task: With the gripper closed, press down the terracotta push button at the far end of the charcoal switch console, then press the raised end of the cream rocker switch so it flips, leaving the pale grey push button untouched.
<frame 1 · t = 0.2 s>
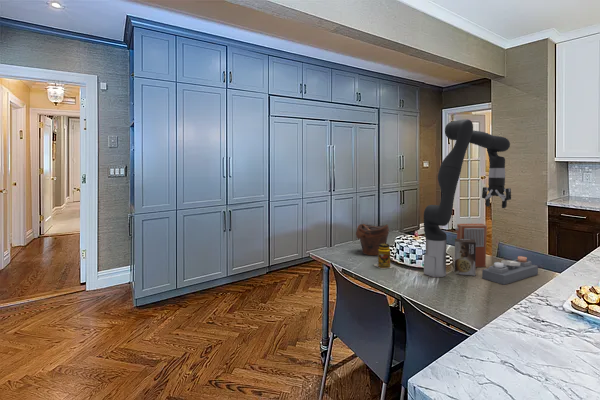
hand: (495, 207, 178), 29 cm above the table, tool pointing down, fingers open, 8 cm apart
condiment: (383, 266, 176), on the table
grey button: (498, 265, 151), point 6 cm above the table, slide at 0.0 cm
red upright rectangular box: (470, 265, 173), on the table
cookie box: (464, 273, 162), on the table
brown plant pot: (372, 253, 203), on the table
rocker switch: (510, 263, 155), point 6 cm above the table, hinge at 10.0°
terracotta button: (522, 259, 159), point 6 cm above the table, slide at 0.0 cm
switch console: (510, 276, 156), on the table
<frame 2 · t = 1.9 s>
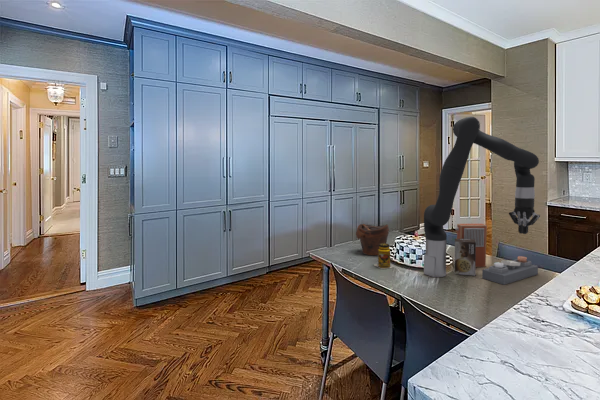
hand: (523, 233, 158), 19 cm above the table, tool pointing down, fingers closed
nothing on the table moved.
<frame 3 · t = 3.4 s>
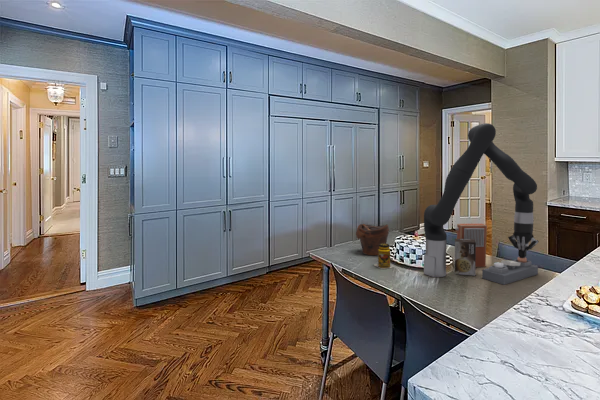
hand: (522, 257, 159), 7 cm above the table, tool pointing down, fingers closed
terracotta button: (522, 260, 159), point 6 cm above the table, slide at 0.2 cm, touching gripper
everything else where it was.
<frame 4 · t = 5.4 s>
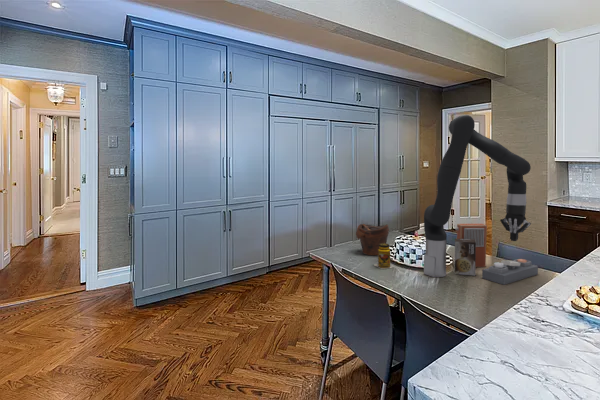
hand: (513, 240, 156), 16 cm above the table, tool pointing down, fingers closed
terracotta button: (521, 262, 159), point 5 cm above the table, slide at 1.3 cm
everything else where it was.
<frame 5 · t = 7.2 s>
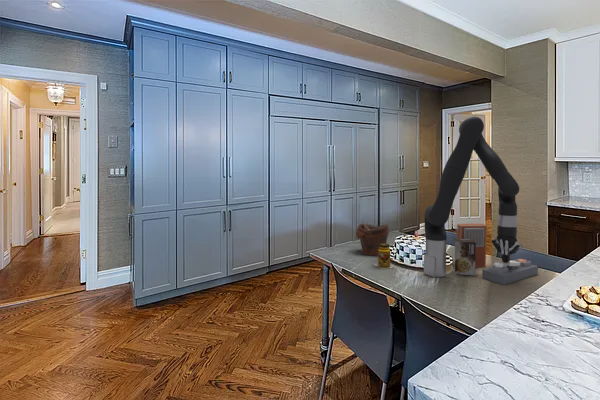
hand: (505, 262, 153), 7 cm above the table, tool pointing down, fingers closed
rocker switch: (510, 263, 155), point 6 cm above the table, hinge at 7.2°, touching gripper
everything else where it was.
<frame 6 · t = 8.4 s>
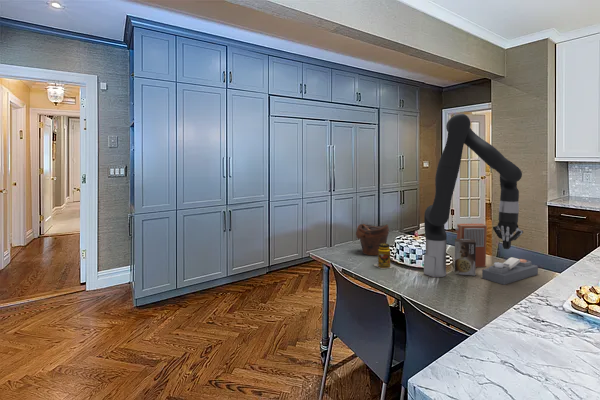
hand: (506, 248, 153), 13 cm above the table, tool pointing down, fingers closed
rocker switch: (510, 263, 155), point 6 cm above the table, hinge at -17.3°
everything else where it was.
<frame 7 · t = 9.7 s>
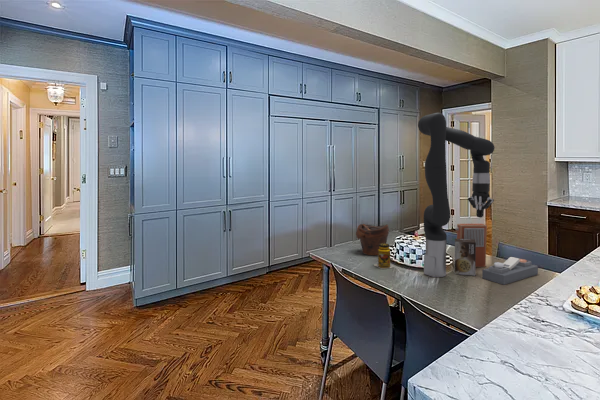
hand: (479, 217, 167), 26 cm above the table, tool pointing down, fingers closed
rocker switch: (510, 263, 155), point 6 cm above the table, hinge at -22.6°, touching switch console
everything else where it was.
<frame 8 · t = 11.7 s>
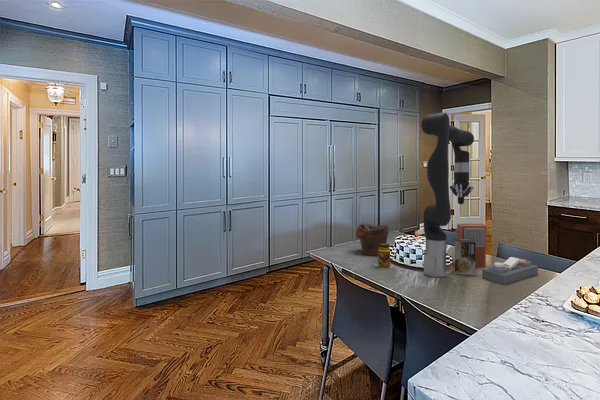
hand: (460, 204, 178), 31 cm above the table, tool pointing down, fingers closed
rocker switch: (510, 263, 155), point 6 cm above the table, hinge at -21.5°
everything else where it was.
at the end: terracotta button slide at 1.3 cm; rocker switch at -22° (first picture: +10°); grey button slide at 0.0 cm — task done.
